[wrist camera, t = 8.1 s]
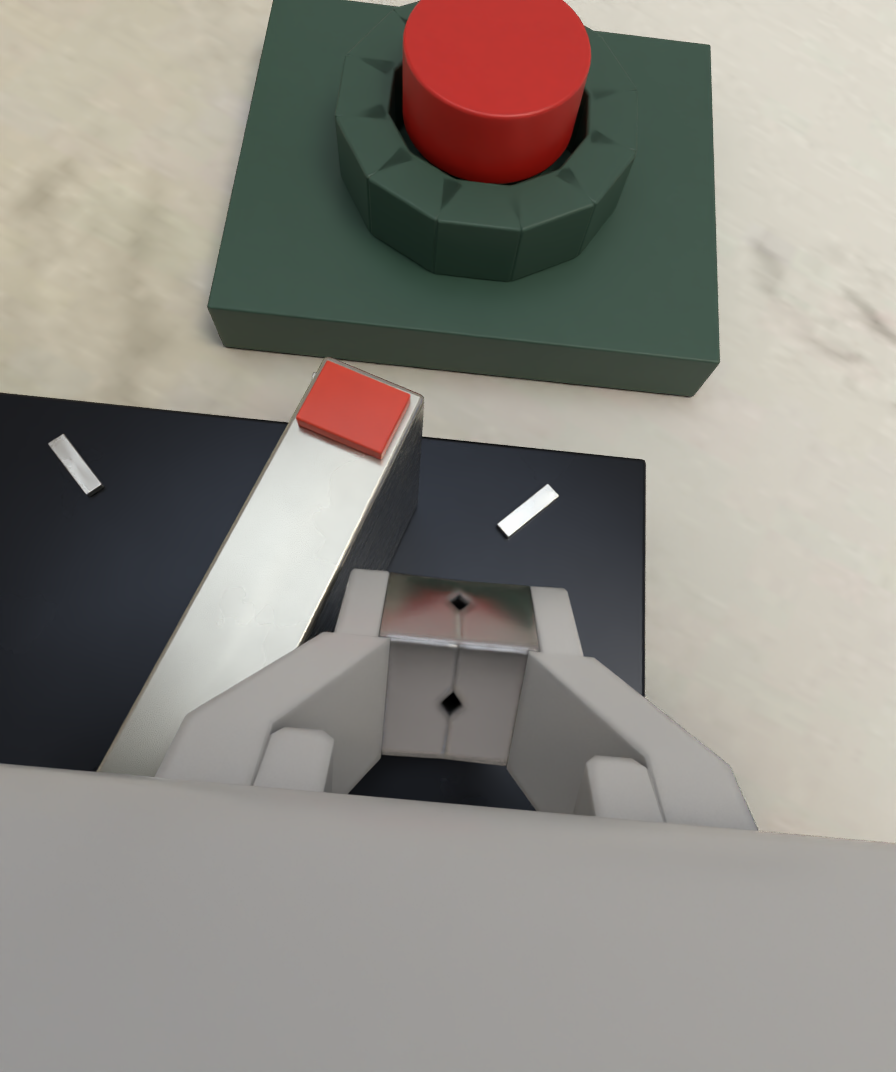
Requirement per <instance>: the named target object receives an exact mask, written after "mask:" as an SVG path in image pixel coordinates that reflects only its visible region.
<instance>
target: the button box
mask: <svg viewBox="0 0 896 1072" xmlns="http://www.w3.org/2000/svg"><path fill="white" fill-rule="evenodd" d="M418 2H419V1H418ZM418 2H414V3H411V4H407V5H404V6H400V7H397V6H389V5H381V4H373V3H365V2H356V1H348V0H273V4H272V8H271V13H270V18H269V22H268V27H267V31H266V36H265V41H264V45H263V50H262V55H261V59H260V64H259V69H258V73H257V78H256V83H255V87H254V92H253V97H252V101H251V106H250V111H249V115H248V120H247V124H246V129H245V134H244V138H243V143H242V148H241V152H240V157H239V162H238V166H237V171H236V176H235V180H234V185H233V190H232V194H231V199H230V203H229V208H228V213H227V217H226V222H225V227H224V231H223V236H222V241H221V245H220V250H219V255H218V259H217V264H216V269H215V273H214V278H213V283H212V287H211V292H210V296H209V301H208V306H207V307H208V310H209V312H210V314H211V317H212V319H213V322H214V324H215V326H216V329H217V331H218V333H219V336H220V338H221V340H222V343H223V345H224V346H226V347H234V348H244V349H253V350H262V351H272V352H281V353H290V354H300V355H309V356H318V357H331V358H337V359H346V360H356V361H365V362H374V363H384V364H393V365H402V366H412V367H421V368H430V369H440V370H449V371H458V372H468V373H477V374H486V375H496V376H505V377H514V378H524V379H533V380H542V381H552V382H561V383H570V384H580V385H589V386H598V387H608V388H617V389H626V390H636V391H645V392H654V393H664V394H673V395H682V396H694V395H695V393H696V392H697V391H698V390H699V388H700V387H701V386H702V385H703V383H704V382H705V381H706V380H707V378H708V377H709V376H710V375H711V373H712V372H713V371H714V370H715V368H716V367H717V366H718V364H719V363H720V350H719V317H718V284H717V251H716V217H715V184H714V151H713V118H712V84H711V51H710V45H706V44H698V43H690V42H682V41H674V40H666V39H658V38H649V37H641V36H633V35H625V34H617V33H609V32H601V31H593V30H591V29H589V28H588V27H586V26H584V27H585V29H586V32H587V34H588V37H589V42H590V47H591V64H590V69H589V73H588V76H587V80H586V84H585V87H584V91H583V95H582V99H581V102H580V106H579V110H578V113H577V117H576V121H575V124H574V128H573V132H572V135H571V138H570V141H569V143H568V145H567V147H566V149H565V151H564V152H563V153H562V155H561V156H560V157H559V158H558V159H557V160H556V161H555V162H554V163H553V164H552V165H551V166H550V167H548V168H547V169H546V170H544V171H543V172H541V173H539V174H537V175H535V176H533V177H531V178H528V179H525V180H522V181H518V182H514V183H507V184H492V183H483V182H475V181H466V180H463V179H460V178H457V177H455V176H452V175H450V174H448V173H446V172H444V171H442V170H440V169H439V168H437V167H436V166H434V165H433V164H431V163H430V162H429V161H428V160H427V159H426V158H425V157H423V156H422V154H421V153H420V152H419V151H418V150H417V149H416V147H415V146H414V144H413V143H412V141H411V139H410V137H409V135H408V133H407V131H406V128H405V124H404V120H403V33H404V28H405V25H406V22H407V20H408V18H409V15H410V14H411V12H412V10H413V9H414V7H415V6H416V5H417V4H418Z"/></svg>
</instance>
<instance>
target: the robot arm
mask: <svg viewBox="0 0 896 1072" xmlns="http://www.w3.org/2000/svg"><path fill="white" fill-rule="evenodd" d="M381 755H393V756H409V757H425V758H440V759H450V760H458V761H467V762H475V763H484V764H492V765H501V766H507V770H508V772H509V773H510V775H511V776H512V777H513V779H514V780H515V782H516V783H517V784H518V786H519V787H520V789H521V790H522V791H523V793H524V794H525V796H526V797H527V798H528V800H529V801H530V803H531V804H532V805H533V807H534V808H535V810H536V811H528V810H517V809H506V808H495V807H483V806H472V805H461V804H450V803H439V802H428V801H416V800H405V799H394V798H383V797H372V796H360V795H349V794H348V793H349V792H350V791H351V790H352V789H353V788H354V786H355V785H356V784H357V783H358V782H359V781H360V780H361V779H362V778H363V777H364V776H365V775H366V773H367V772H368V771H369V770H370V769H371V768H372V767H373V766H374V765H375V764H376V763H377V762H378V761H379V759H380V758H381ZM0 1072H896V843H888V842H877V841H866V840H854V839H843V838H832V837H821V836H809V835H798V834H787V833H776V832H764V831H758V829H757V826H756V824H755V822H754V819H753V817H752V815H751V813H750V810H749V808H748V806H747V803H746V801H745V799H744V797H743V794H742V792H741V790H740V787H739V785H738V783H737V781H736V778H735V776H734V774H733V771H732V769H731V767H730V765H729V764H727V763H726V762H725V761H724V760H722V759H721V758H720V757H719V756H717V755H716V754H715V753H714V752H712V751H711V750H710V749H709V748H707V747H706V746H705V745H703V744H702V743H701V742H700V741H698V740H697V739H696V738H695V737H693V736H692V735H691V734H690V733H688V732H687V731H686V730H685V729H683V728H682V727H681V726H680V725H678V724H677V723H676V722H675V721H673V720H672V719H671V718H669V717H668V716H667V715H666V714H664V713H663V712H662V711H661V710H659V709H658V708H657V707H656V706H654V705H653V704H652V703H651V702H649V701H648V700H647V699H646V698H644V697H643V696H642V695H641V694H639V693H638V692H637V691H635V690H634V689H633V688H632V687H630V686H629V685H628V684H627V683H625V682H624V681H623V680H622V679H620V678H619V677H618V676H617V675H615V674H614V673H613V672H612V671H610V670H609V669H608V668H606V667H605V666H604V665H603V664H601V663H600V662H599V661H598V660H596V659H595V658H593V657H584V656H583V652H582V648H581V644H580V640H579V636H578V632H577V628H576V624H575V620H574V616H573V612H572V608H571V604H570V600H569V596H568V592H567V591H566V590H565V589H564V588H554V587H536V586H525V585H512V584H498V583H485V582H472V581H461V580H455V579H447V578H439V577H430V576H422V575H413V574H405V573H396V572H391V573H390V574H389V572H388V571H383V570H370V569H357V568H354V569H353V570H352V571H351V572H350V576H349V580H348V583H347V587H346V591H345V594H344V598H343V602H342V605H341V609H340V613H339V616H338V620H337V624H336V627H335V631H334V632H322V633H321V634H319V635H317V636H316V637H314V638H312V639H311V640H309V641H307V642H306V643H304V644H302V645H301V646H299V647H297V648H296V649H294V650H292V651H291V652H289V653H287V654H286V655H284V656H282V657H281V658H279V659H277V660H276V661H274V662H272V663H271V664H269V665H267V666H266V667H264V668H262V669H261V670H259V671H257V672H256V673H254V674H252V675H251V676H249V677H247V678H246V679H244V680H242V681H241V682H239V683H237V684H236V685H234V686H232V687H231V688H229V689H227V690H226V691H224V692H222V693H221V694H219V695H217V696H216V697H214V698H212V699H211V700H209V701H207V702H206V703H204V704H202V705H201V706H199V707H198V708H196V709H194V710H193V711H191V712H189V713H188V714H186V715H185V717H184V719H183V721H182V723H181V725H180V727H179V729H178V731H177V733H176V735H175V737H174V739H173V741H172V743H171V745H170V747H169V749H168V751H167V753H166V755H165V757H164V759H163V761H162V763H161V765H160V767H159V769H158V771H157V773H156V775H155V777H148V776H136V775H125V774H114V773H103V772H92V771H80V770H69V769H58V768H47V767H36V766H24V765H13V764H2V763H0Z"/></svg>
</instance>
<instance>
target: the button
mask: <svg viewBox="0 0 896 1072" xmlns="http://www.w3.org/2000/svg"><path fill="white" fill-rule="evenodd" d="M590 64H591V47H590V42H589V37H588V34H587V32H586V29H585V27H584V25H583V23H582V22H581V20H580V18H579V17H578V16H577V14H576V13H575V12H574V10H573V9H572V8H571V7H570V6H569V5H568V4H567V3H566V2H564V1H563V0H420V1H419V2H418V4H417V5H416V6H415V7H414V9H413V10H412V12H411V14H410V15H409V18H408V20H407V22H406V25H405V28H404V33H403V120H404V124H405V128H406V131H407V133H408V135H409V137H410V139H411V141H412V143H413V144H414V146H415V147H416V149H417V150H418V151H419V152H420V153H421V154H422V156H423V157H425V158H426V159H427V160H428V161H429V162H430V163H431V164H433V165H434V166H436V167H437V168H439V169H440V170H442V171H444V172H446V173H448V174H450V175H452V176H455V177H457V178H460V179H463V180H466V181H475V182H483V183H492V184H507V183H514V182H518V181H522V180H525V179H528V178H531V177H533V176H535V175H537V174H539V173H541V172H543V171H544V170H546V169H547V168H548V167H550V166H551V165H552V164H553V163H554V162H555V161H556V160H557V159H558V158H559V157H560V156H561V155H562V153H563V152H564V151H565V149H566V147H567V145H568V143H569V141H570V138H571V135H572V132H573V128H574V124H575V121H576V117H577V113H578V110H579V106H580V102H581V99H582V95H583V91H584V87H585V84H586V80H587V76H588V73H589V69H590Z"/></svg>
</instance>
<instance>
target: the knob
mask: <svg viewBox="0 0 896 1072" xmlns="http://www.w3.org/2000/svg"><path fill="white" fill-rule="evenodd" d="M423 410H424V397H423V396H422V395H421V394H418V393H416V392H413V391H411V390H408V389H406V388H404V387H401V386H399V385H396V384H394V383H392V382H389V381H387V380H384V379H382V378H379V377H377V376H375V375H372V374H370V373H367V372H365V371H362V370H360V369H358V368H355V367H353V366H350V365H348V364H346V363H343V362H341V361H338V360H336V359H333V358H331V357H326V358H324V360H323V361H322V363H321V365H320V367H319V369H318V371H317V372H316V374H315V376H314V378H313V380H312V381H311V383H310V385H309V387H308V389H307V390H306V392H305V394H304V396H303V398H302V400H301V401H300V403H299V405H298V407H297V409H296V410H295V412H294V414H293V416H292V418H291V419H290V421H289V423H288V425H287V427H286V429H285V430H284V432H283V434H282V436H281V438H280V439H279V441H278V443H277V445H276V447H275V448H274V450H273V452H272V454H271V456H270V458H269V459H268V461H267V463H266V465H265V467H264V468H263V470H262V472H261V474H260V476H259V477H258V479H257V481H256V483H255V485H254V487H253V488H252V490H251V492H250V494H249V496H248V497H247V499H246V501H245V503H244V505H243V506H242V508H241V510H240V512H239V514H238V515H237V517H236V519H235V521H234V523H233V525H232V526H231V528H230V530H229V532H228V534H227V535H226V537H225V539H224V541H223V543H222V544H221V546H220V548H219V550H218V552H217V554H216V555H215V557H214V559H213V561H212V563H211V564H210V566H209V568H208V570H207V572H206V573H205V575H204V577H203V579H202V581H201V583H200V584H199V586H198V588H197V590H196V592H195V593H194V595H193V597H192V599H191V601H190V602H189V604H188V606H187V608H186V610H185V612H184V613H183V615H182V617H181V619H180V621H179V622H178V624H177V626H176V628H175V630H174V631H173V633H172V635H171V637H170V639H169V641H168V642H167V644H166V646H165V648H164V650H163V651H162V653H161V655H160V657H159V659H158V660H157V662H156V664H155V666H154V668H153V670H152V671H151V673H150V675H149V677H148V679H147V680H146V682H145V684H144V686H143V688H142V689H141V691H140V693H139V695H138V697H137V699H136V700H135V702H134V704H133V706H132V708H131V709H130V711H129V713H128V715H127V717H126V718H125V720H124V722H123V724H122V726H121V728H120V729H119V731H118V733H117V735H116V737H115V738H114V740H113V742H112V744H111V746H110V747H109V749H108V751H107V753H106V755H105V757H104V758H103V760H102V762H101V764H100V766H99V767H98V769H97V771H96V772H103V773H114V774H125V775H136V776H148V777H155V775H156V773H157V771H158V769H159V767H160V765H161V763H162V761H163V759H164V757H165V755H166V753H167V751H168V749H169V747H170V745H171V743H172V741H173V739H174V737H175V735H176V733H177V731H178V729H179V727H180V725H181V723H182V721H183V719H184V717H185V715H186V714H188V713H189V712H191V711H193V710H194V709H196V708H198V707H199V706H201V705H202V704H204V703H206V702H207V701H209V700H211V699H212V698H214V697H216V696H217V695H219V694H221V693H222V692H224V691H226V690H227V689H229V688H231V687H232V686H234V685H236V684H237V683H239V682H241V681H242V680H244V679H246V678H247V677H249V676H251V675H252V674H254V673H256V672H257V671H259V670H261V669H262V668H264V667H266V666H267V665H269V664H271V663H272V662H274V661H276V660H277V659H279V658H281V657H282V656H284V655H286V654H287V653H289V652H291V651H292V650H294V649H296V648H297V647H299V646H301V645H302V644H304V643H306V642H307V641H309V640H311V639H312V638H314V637H316V636H317V635H319V634H321V633H322V632H334V631H335V627H336V624H337V620H338V616H339V613H340V609H341V605H342V602H343V598H344V594H345V591H346V587H347V583H348V580H349V576H350V572H351V571H352V570H353V569H354V568H357V569H370V570H383V571H386V570H387V568H388V566H389V564H390V562H391V560H392V557H393V555H394V553H395V551H396V549H397V547H398V545H399V543H400V540H401V538H402V536H403V534H404V532H405V530H406V528H407V526H408V523H409V521H410V519H411V517H412V515H413V513H414V511H415V508H416V506H417V504H418V491H419V475H420V459H421V443H422V427H423Z"/></svg>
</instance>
